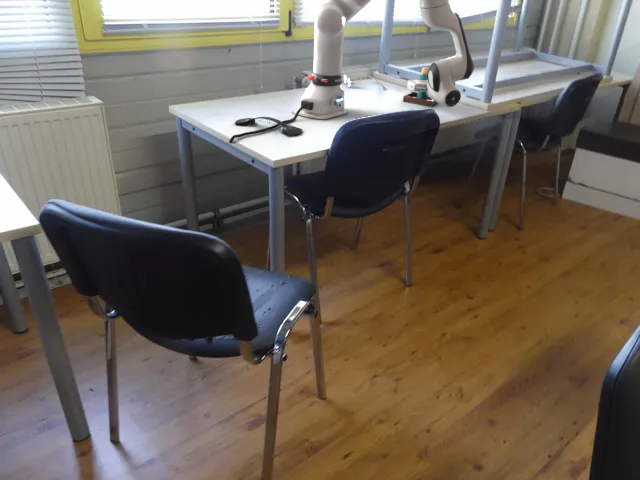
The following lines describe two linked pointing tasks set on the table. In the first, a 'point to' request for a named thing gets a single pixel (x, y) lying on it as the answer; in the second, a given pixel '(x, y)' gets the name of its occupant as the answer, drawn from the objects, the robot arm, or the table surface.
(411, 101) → the tray
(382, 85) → the eyeglasses
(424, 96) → the toy figure
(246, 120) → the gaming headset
